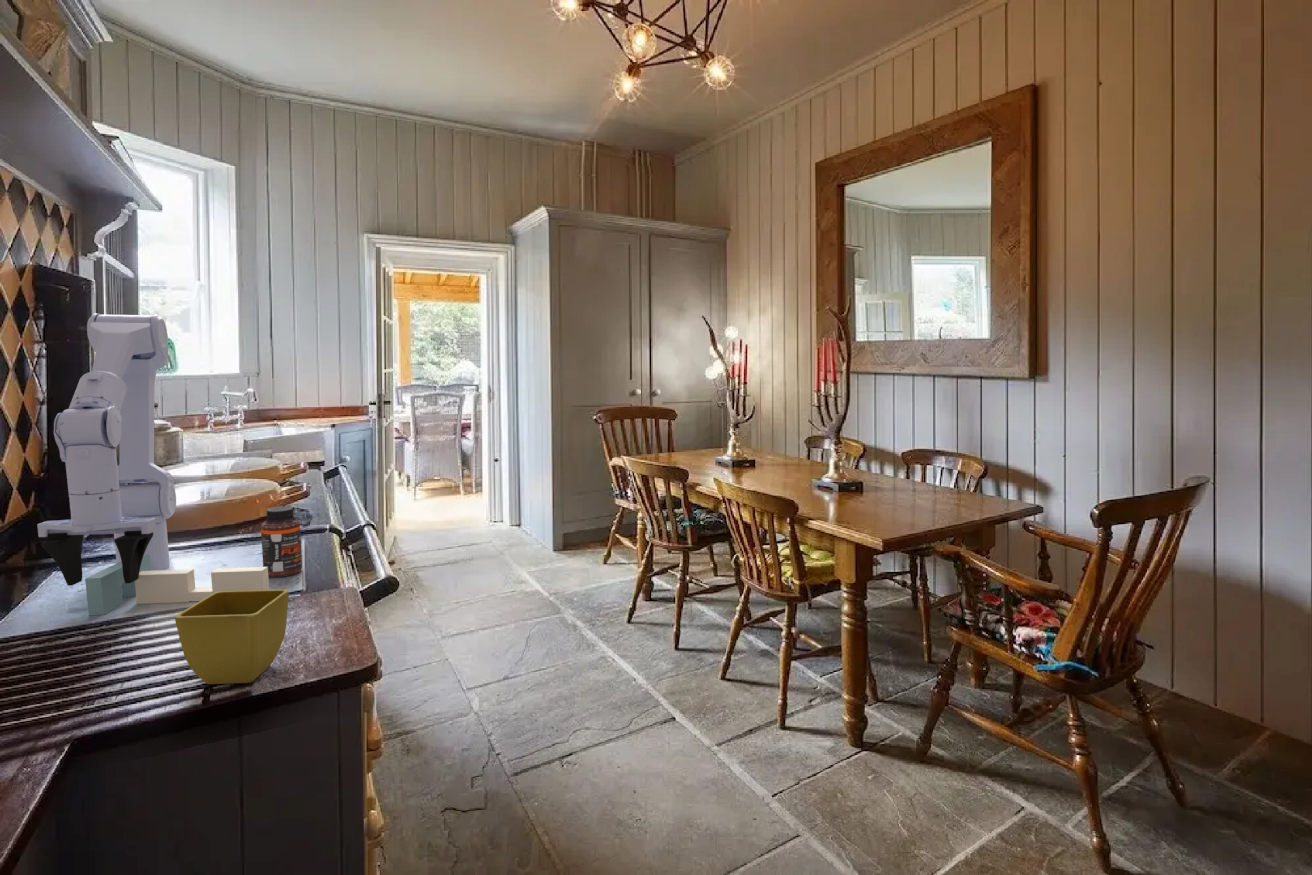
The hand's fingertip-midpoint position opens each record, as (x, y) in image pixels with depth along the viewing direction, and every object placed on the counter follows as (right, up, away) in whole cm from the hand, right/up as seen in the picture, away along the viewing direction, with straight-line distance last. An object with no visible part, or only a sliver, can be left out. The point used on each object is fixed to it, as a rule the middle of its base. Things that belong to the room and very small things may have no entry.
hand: (103, 582), depth 101 cm
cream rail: (+12, -4, +5) cm, 13 cm away
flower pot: (+32, -7, -20) cm, 38 cm away
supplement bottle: (+17, -2, +18) cm, 25 cm away
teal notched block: (-1, -4, +4) cm, 6 cm away
